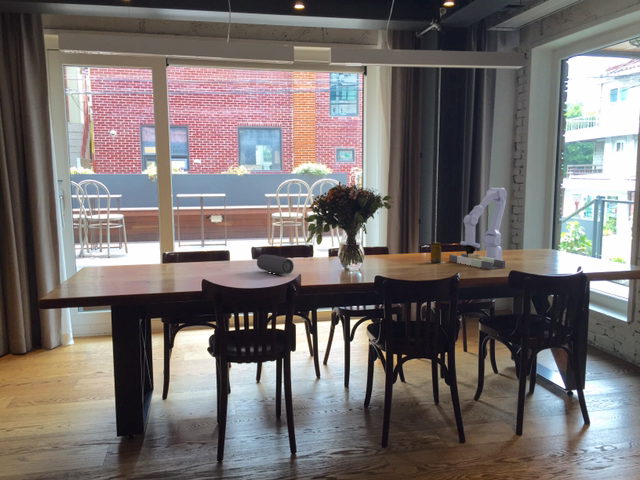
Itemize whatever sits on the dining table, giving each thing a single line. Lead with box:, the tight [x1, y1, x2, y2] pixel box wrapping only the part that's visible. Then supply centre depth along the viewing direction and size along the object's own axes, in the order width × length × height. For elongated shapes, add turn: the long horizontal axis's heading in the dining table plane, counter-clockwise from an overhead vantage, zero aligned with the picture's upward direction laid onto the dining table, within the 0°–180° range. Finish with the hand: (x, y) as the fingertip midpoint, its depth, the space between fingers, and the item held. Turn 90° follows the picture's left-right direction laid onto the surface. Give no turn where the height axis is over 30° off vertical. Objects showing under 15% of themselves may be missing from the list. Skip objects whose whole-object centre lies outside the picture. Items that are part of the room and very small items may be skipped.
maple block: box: [468, 252, 482, 260], centre depth 316 cm, size 5×5×4 cm
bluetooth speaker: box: [256, 254, 294, 275], centre depth 295 cm, size 23×9×10 cm, turn 42°
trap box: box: [448, 252, 506, 271], centre depth 315 cm, size 11×34×4 cm, turn 27°
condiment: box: [428, 241, 447, 265], centre depth 323 cm, size 7×8×12 cm
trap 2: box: [492, 266, 504, 270], centre depth 304 cm, size 8×7×1 cm
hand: (469, 258), depth 320 cm, fingers closed
